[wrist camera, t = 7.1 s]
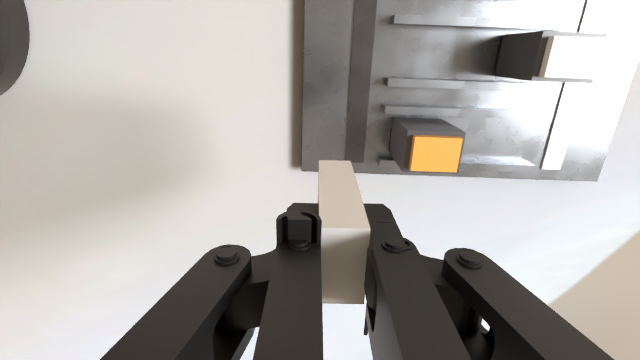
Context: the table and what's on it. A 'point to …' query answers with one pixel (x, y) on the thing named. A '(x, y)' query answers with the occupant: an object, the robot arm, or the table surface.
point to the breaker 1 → (426, 145)
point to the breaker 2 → (551, 56)
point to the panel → (461, 84)
